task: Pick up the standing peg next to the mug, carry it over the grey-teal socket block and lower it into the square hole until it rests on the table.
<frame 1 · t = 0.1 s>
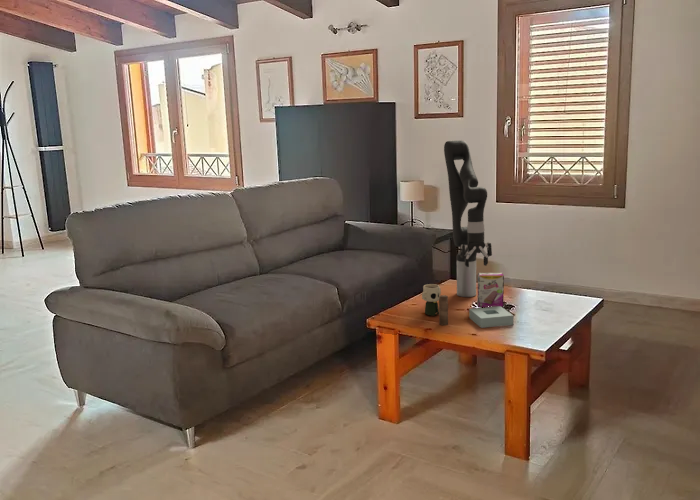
hand: (476, 266, 300), 17 cm above the table, tool pointing down, fingers open, 8 cm apart
peg: (443, 324, 274), on the table
socket: (490, 321, 275), on the table
candy bar box: (490, 309, 291), on the table
character mug: (431, 315, 287), on the table
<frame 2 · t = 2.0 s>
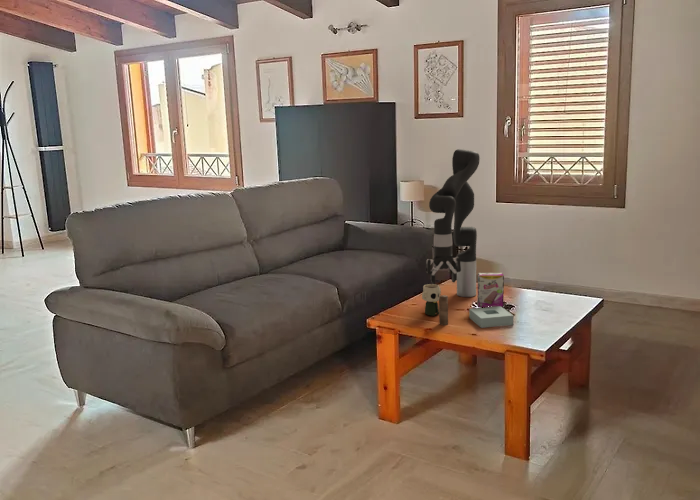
hand: (443, 282, 270), 18 cm above the table, tool pointing down, fingers open, 8 cm apart
nothing on the table moved.
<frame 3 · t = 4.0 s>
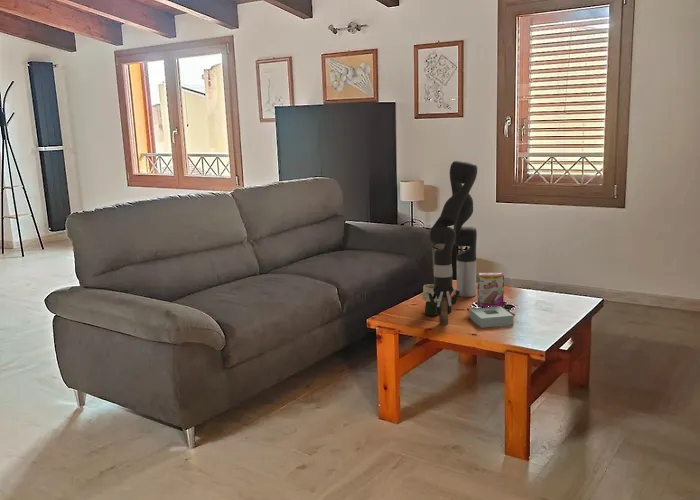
hand: (443, 314, 273), 4 cm above the table, tool pointing down, fingers closed on peg, 3 cm apart
peg: (443, 324, 274), on the table, touching gripper
everything else where it was.
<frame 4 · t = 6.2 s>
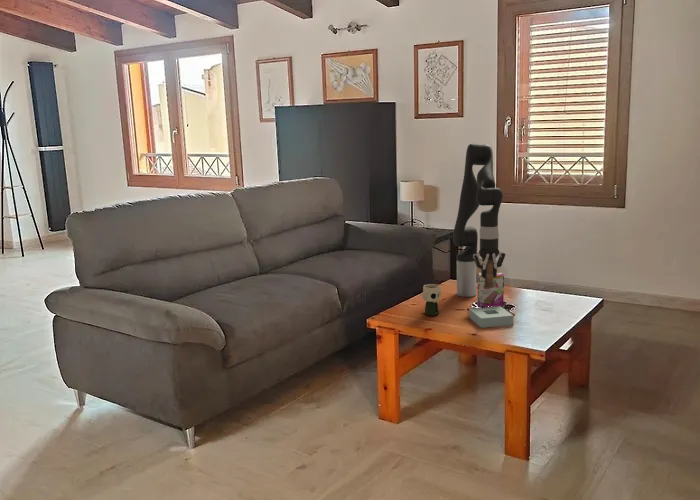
hand: (488, 277, 271), 19 cm above the table, tool pointing down, fingers closed on peg, 3 cm apart
peg: (488, 287, 272), point 15 cm above the table, touching gripper
everything else where it was.
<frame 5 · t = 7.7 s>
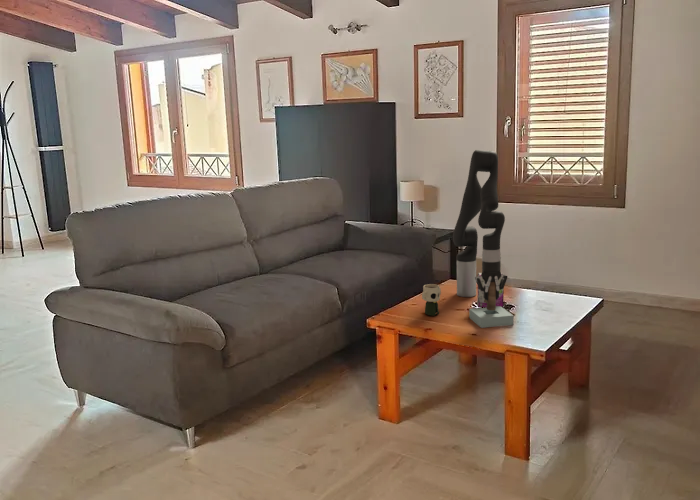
hand: (491, 299, 273), 9 cm above the table, tool pointing down, fingers closed on peg, 3 cm apart
peg: (491, 309, 274), point 5 cm above the table, touching gripper
everything else where it was.
when the fingers open (5 cm above the table, at t = 8.8 s): peg stays where it is, resting in socket.
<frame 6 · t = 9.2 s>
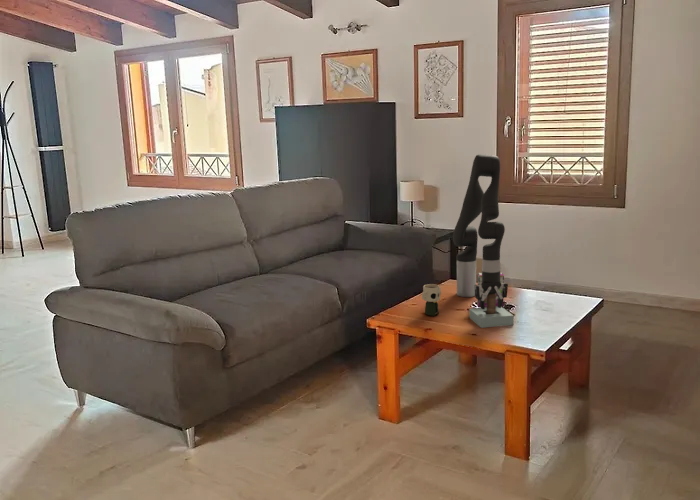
hand: (491, 308, 274), 6 cm above the table, tool pointing down, fingers open, 6 cm apart
peg: (491, 321, 275), resting in socket
everything else where it was.
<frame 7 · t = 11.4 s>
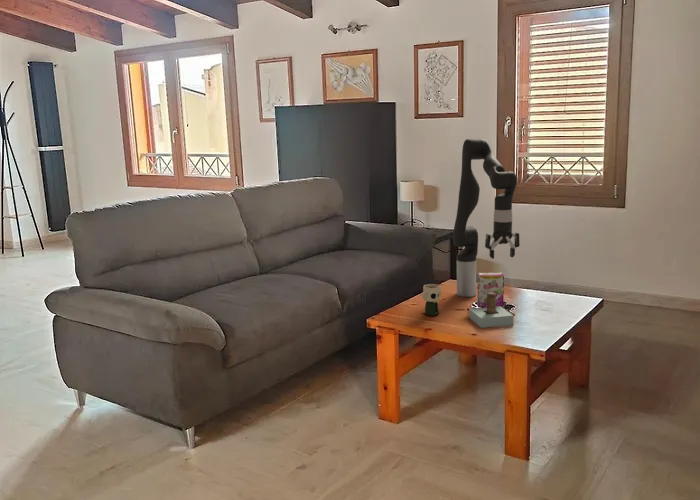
hand: (502, 257, 276), 26 cm above the table, tool pointing down, fingers open, 8 cm apart
nothing on the table moved.
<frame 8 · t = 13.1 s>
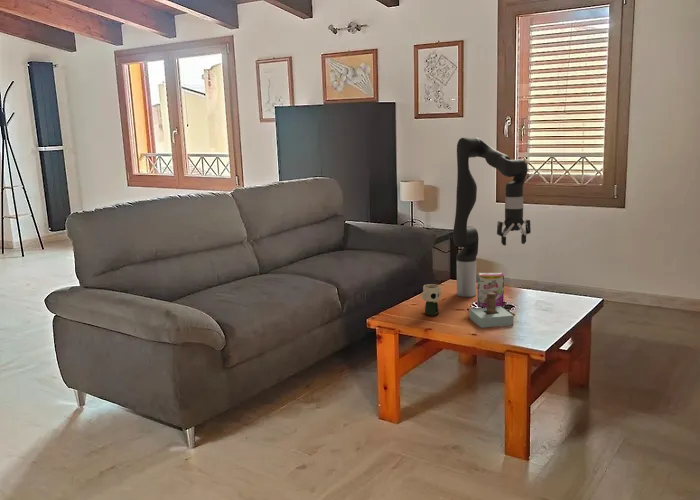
hand: (513, 244, 281), 30 cm above the table, tool pointing down, fingers open, 8 cm apart
nothing on the table moved.
at the end: peg 0.1 cm off-centre on the socket, point 0.0 cm above the socket's base; peg tilted 0°; the gripper is holding nothing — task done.
